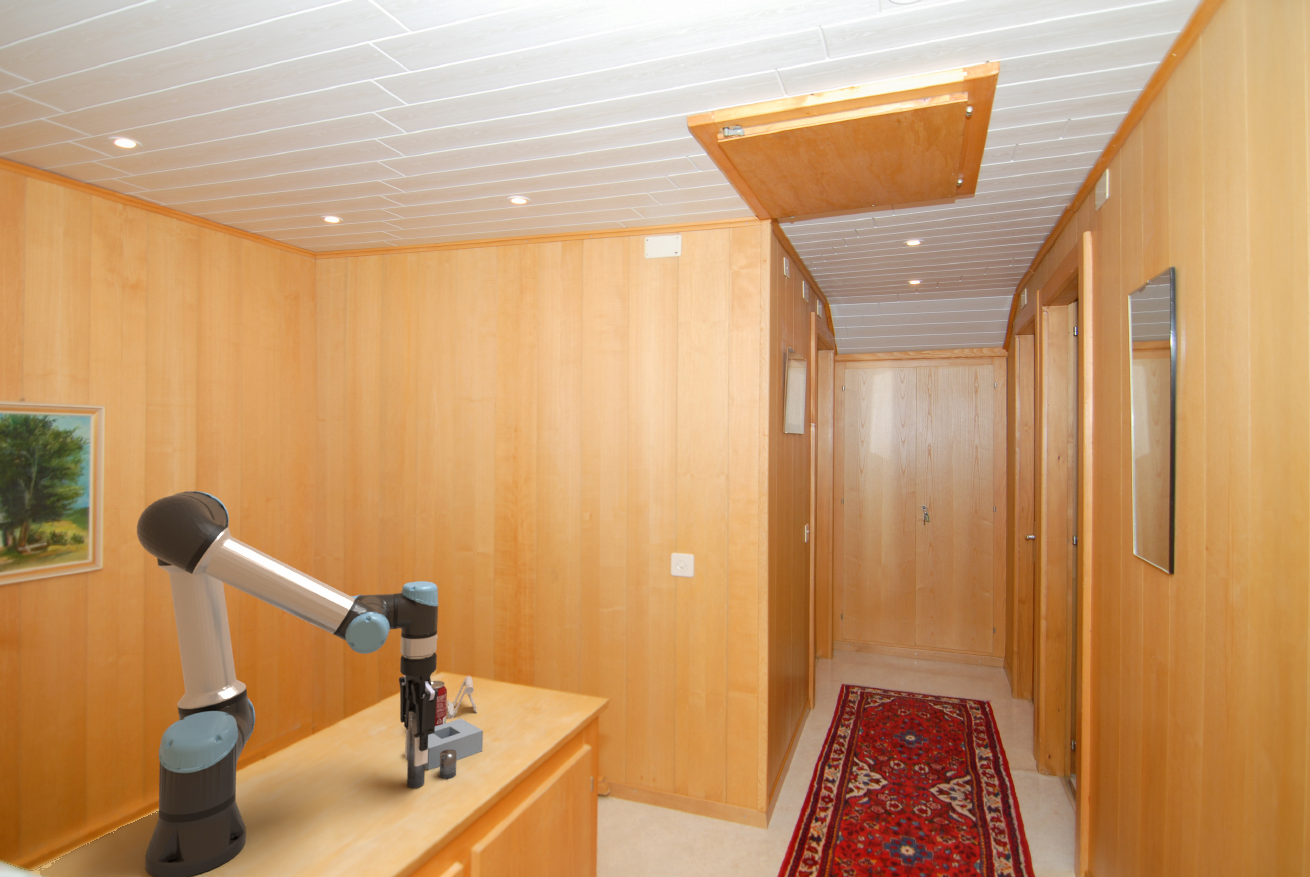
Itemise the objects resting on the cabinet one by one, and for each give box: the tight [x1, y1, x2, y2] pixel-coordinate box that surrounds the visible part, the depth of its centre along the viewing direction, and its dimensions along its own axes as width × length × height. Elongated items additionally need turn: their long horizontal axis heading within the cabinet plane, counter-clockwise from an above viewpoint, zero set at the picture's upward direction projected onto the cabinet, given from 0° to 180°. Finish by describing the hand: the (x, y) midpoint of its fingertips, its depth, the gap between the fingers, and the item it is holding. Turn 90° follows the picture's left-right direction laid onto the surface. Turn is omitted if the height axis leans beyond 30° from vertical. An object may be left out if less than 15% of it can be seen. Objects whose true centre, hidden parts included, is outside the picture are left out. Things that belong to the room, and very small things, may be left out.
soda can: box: [420, 680, 448, 726], centre depth 178 cm, size 7×7×12 cm
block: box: [425, 718, 484, 771], centre depth 165 cm, size 14×10×5 cm
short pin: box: [438, 749, 457, 780], centre depth 155 cm, size 4×4×5 cm
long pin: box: [406, 708, 426, 789], centre depth 150 cm, size 4×4×16 cm
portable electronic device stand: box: [446, 675, 478, 719], centre depth 191 cm, size 9×8×8 cm
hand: (416, 760), depth 150 cm, fingers closed on long pin, 3 cm apart
